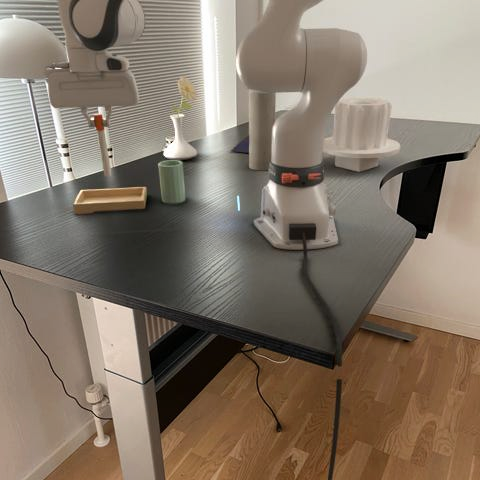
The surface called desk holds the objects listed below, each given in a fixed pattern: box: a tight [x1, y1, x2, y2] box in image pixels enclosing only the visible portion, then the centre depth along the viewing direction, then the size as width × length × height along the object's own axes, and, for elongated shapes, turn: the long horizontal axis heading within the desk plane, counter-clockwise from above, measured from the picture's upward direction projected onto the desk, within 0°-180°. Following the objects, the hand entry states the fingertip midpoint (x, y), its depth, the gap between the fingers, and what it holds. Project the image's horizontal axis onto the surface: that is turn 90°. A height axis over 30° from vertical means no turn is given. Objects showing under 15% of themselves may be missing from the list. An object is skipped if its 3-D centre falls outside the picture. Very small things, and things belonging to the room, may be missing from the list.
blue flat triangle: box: [230, 135, 249, 154], centre depth 176 cm, size 24×30×4 cm
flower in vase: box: [163, 76, 198, 161], centre depth 157 cm, size 13×11×25 cm
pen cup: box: [157, 159, 187, 204], centre depth 124 cm, size 6×6×10 cm
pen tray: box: [72, 186, 148, 215], centre depth 124 cm, size 11×17×3 cm, turn 97°
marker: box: [93, 113, 113, 178], centre depth 117 cm, size 2×2×14 cm
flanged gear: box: [323, 97, 401, 173], centre depth 147 cm, size 25×25×19 cm
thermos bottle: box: [248, 89, 277, 171], centre depth 145 cm, size 8×8×28 cm
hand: (99, 126), depth 115 cm, fingers closed on marker, 2 cm apart
